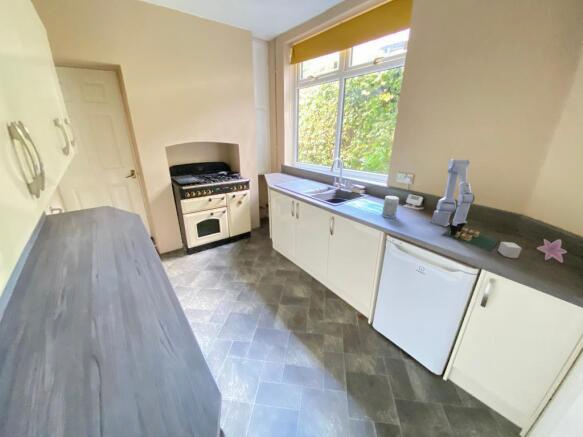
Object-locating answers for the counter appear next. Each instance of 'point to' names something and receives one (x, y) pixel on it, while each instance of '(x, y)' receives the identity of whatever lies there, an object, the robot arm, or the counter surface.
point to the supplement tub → (390, 206)
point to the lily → (552, 250)
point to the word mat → (476, 241)
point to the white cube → (509, 249)
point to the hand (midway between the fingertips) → (455, 233)
